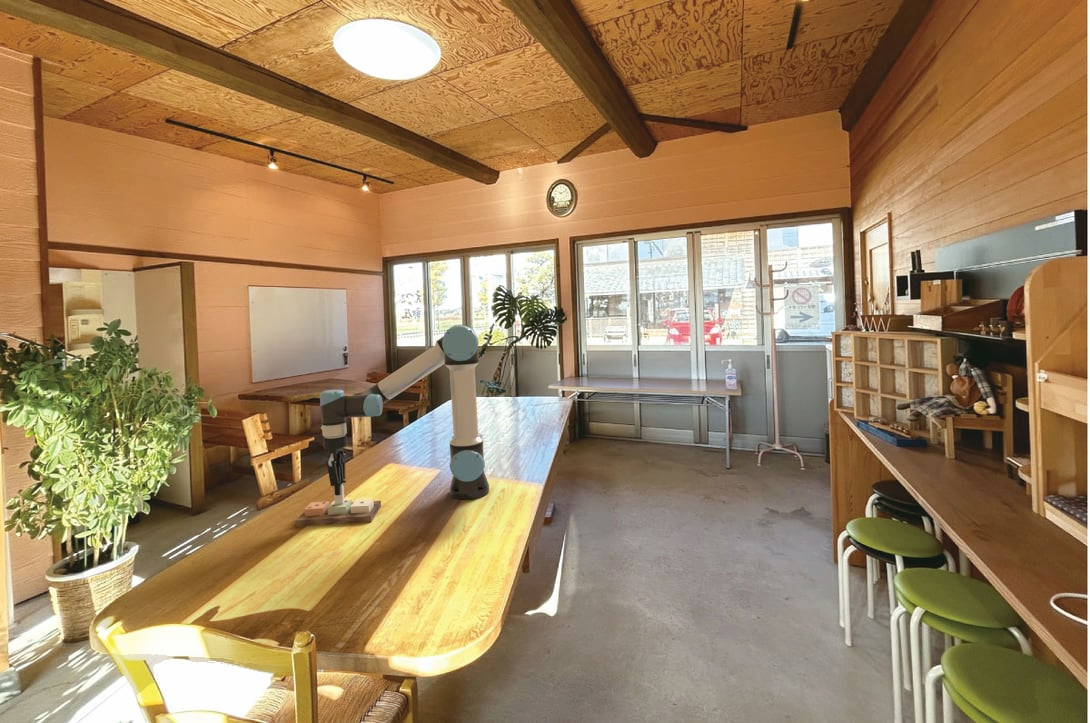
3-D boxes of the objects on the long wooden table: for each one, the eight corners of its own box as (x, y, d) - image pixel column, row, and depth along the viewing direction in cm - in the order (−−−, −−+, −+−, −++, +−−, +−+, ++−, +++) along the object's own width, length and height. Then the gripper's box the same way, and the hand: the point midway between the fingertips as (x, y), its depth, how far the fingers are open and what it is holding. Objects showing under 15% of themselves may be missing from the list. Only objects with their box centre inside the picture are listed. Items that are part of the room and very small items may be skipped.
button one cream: (373, 506, 164) (373, 498, 164) (369, 514, 159) (368, 505, 158) (356, 508, 164) (355, 499, 164) (350, 515, 158) (350, 506, 158)
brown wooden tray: (381, 506, 168) (380, 500, 168) (371, 522, 155) (370, 515, 155) (311, 510, 166) (311, 504, 166) (296, 526, 153) (295, 520, 153)
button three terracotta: (329, 509, 163) (329, 501, 163) (323, 516, 157) (322, 508, 157) (312, 510, 163) (311, 502, 162) (304, 518, 157) (304, 509, 156)
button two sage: (352, 507, 164) (351, 499, 163) (346, 515, 158) (345, 506, 158) (334, 509, 163) (333, 500, 163) (328, 516, 157) (327, 507, 157)
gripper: (330, 431, 164) (335, 496, 166) (315, 441, 151) (321, 511, 153) (352, 430, 165) (356, 494, 167) (339, 440, 152) (344, 509, 154)
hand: (339, 502), depth 160 cm, fingers closed
